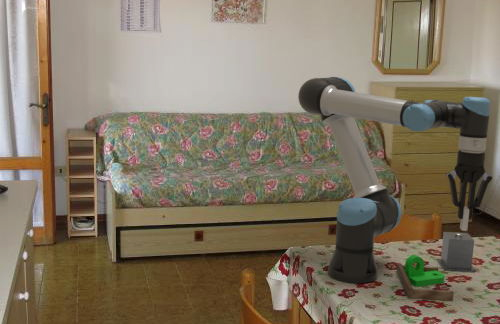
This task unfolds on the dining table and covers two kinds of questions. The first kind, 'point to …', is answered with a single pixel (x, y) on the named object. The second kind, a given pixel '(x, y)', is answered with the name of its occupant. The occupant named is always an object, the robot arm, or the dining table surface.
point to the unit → (457, 252)
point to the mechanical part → (421, 273)
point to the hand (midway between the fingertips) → (463, 229)
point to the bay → (422, 292)
